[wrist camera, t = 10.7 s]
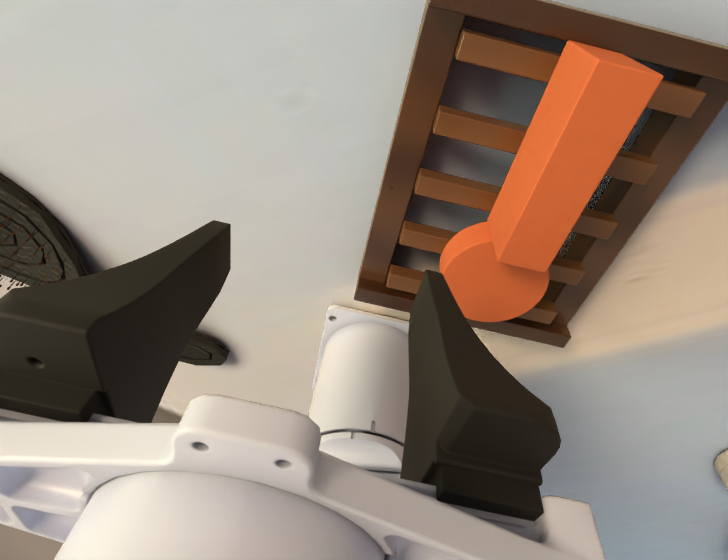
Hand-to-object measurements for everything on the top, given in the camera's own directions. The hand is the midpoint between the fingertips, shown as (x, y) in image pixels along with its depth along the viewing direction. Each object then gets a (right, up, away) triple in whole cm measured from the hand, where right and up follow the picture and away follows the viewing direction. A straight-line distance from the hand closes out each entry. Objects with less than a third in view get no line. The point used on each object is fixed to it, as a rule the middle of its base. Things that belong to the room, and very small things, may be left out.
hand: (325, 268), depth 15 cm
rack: (+9, +5, +7) cm, 12 cm away
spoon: (+9, +3, +5) cm, 10 cm away
